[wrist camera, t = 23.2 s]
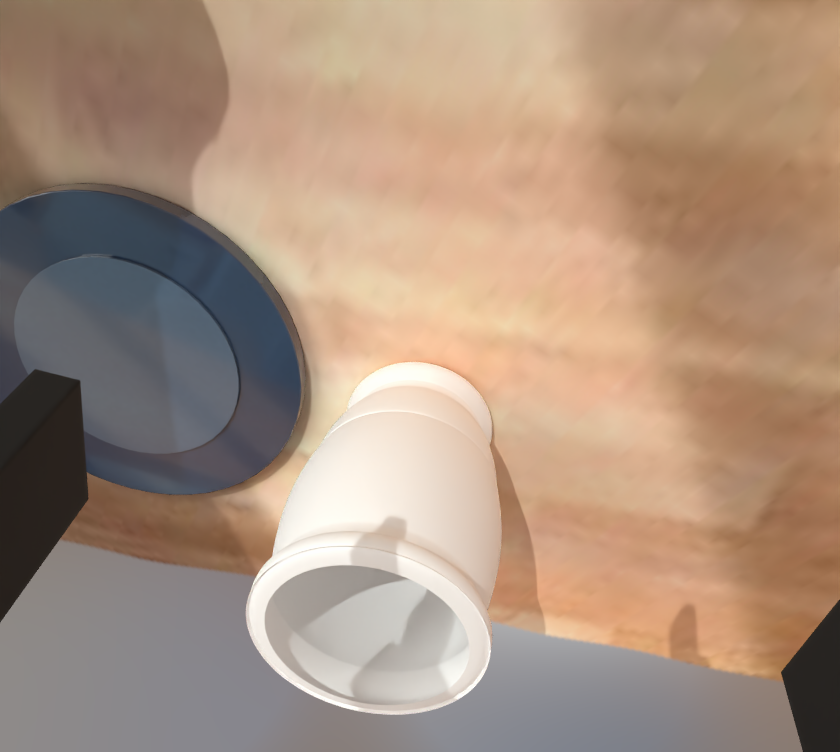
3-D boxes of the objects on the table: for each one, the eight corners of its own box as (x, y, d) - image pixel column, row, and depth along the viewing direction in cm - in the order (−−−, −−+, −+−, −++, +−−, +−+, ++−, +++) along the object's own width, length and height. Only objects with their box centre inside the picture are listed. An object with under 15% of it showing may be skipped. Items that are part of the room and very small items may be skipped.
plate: (-12, 440, 50) (-23, 452, 49) (-60, 140, 39) (-76, 147, 38) (287, 516, 50) (282, 529, 49) (327, 237, 39) (321, 247, 38)
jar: (484, 509, 47) (457, 740, 35) (319, 467, 47) (235, 682, 35) (534, 369, 41) (523, 589, 29) (345, 320, 41) (254, 519, 29)
